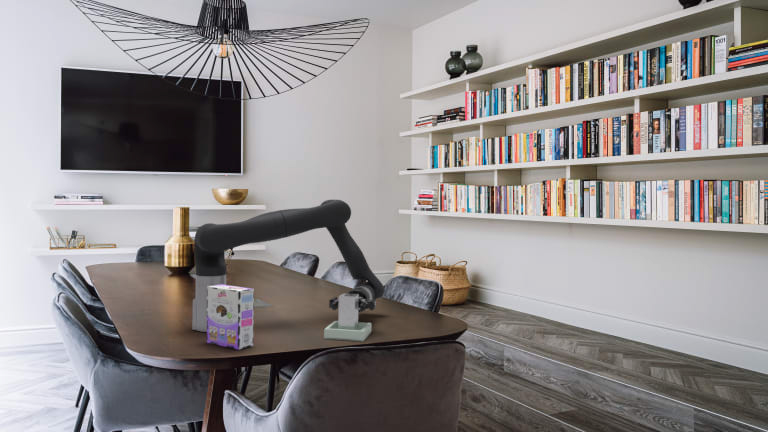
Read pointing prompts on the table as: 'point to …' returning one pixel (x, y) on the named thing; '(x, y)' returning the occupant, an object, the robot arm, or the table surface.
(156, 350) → the table surface
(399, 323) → the table surface
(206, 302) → the robot arm
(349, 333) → the tray
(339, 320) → the bored block
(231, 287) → the candy box
